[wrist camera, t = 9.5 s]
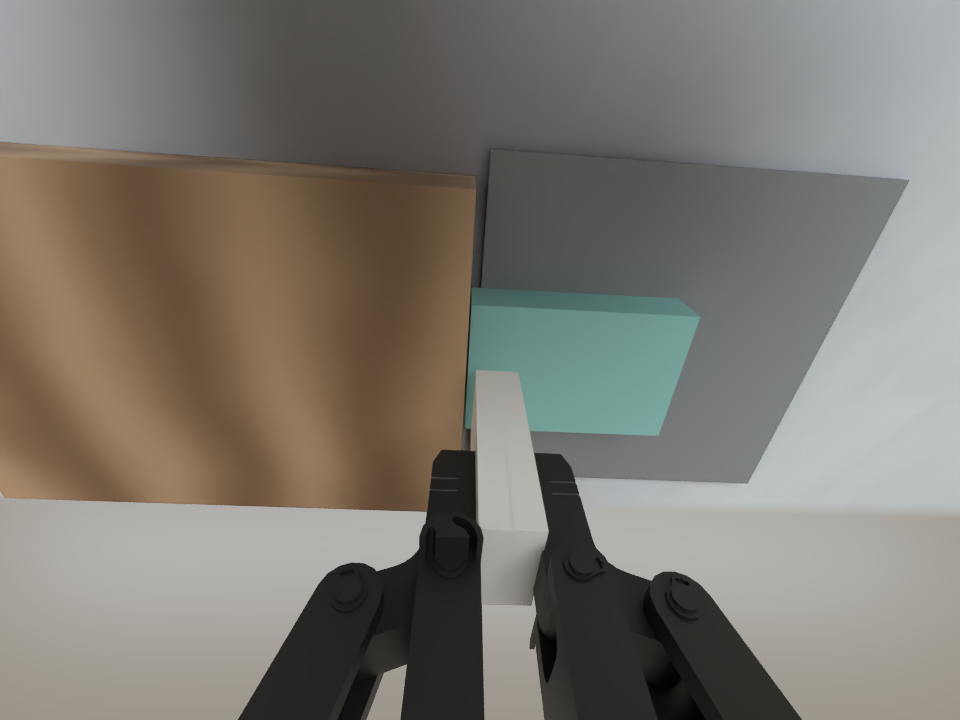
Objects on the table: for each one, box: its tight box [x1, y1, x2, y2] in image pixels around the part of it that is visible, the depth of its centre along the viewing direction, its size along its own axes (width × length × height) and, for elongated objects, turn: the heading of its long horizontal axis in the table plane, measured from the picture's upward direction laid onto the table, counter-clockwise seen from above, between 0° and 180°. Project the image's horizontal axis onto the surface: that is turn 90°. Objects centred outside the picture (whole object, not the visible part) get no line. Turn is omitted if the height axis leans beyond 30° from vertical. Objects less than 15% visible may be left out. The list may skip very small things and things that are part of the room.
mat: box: [469, 149, 909, 483], centre depth 19 cm, size 16×16×1 cm
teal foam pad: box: [465, 287, 700, 436], centre depth 18 cm, size 9×6×2 cm, turn 86°
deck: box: [0, 142, 476, 512], centre depth 17 cm, size 20×14×4 cm
